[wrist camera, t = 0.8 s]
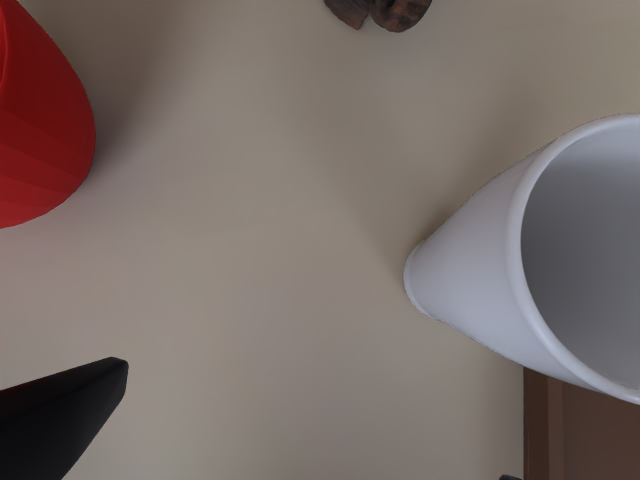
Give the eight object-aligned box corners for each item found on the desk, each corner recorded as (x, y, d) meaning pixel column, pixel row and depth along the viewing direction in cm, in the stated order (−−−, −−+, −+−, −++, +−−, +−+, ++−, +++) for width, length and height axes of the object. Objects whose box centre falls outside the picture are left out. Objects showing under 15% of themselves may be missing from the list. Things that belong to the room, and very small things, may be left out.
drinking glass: (381, 232, 23) (477, 128, 8) (486, 217, 23) (768, 86, 8) (399, 340, 22) (545, 439, 7) (508, 324, 22) (873, 391, 7)
